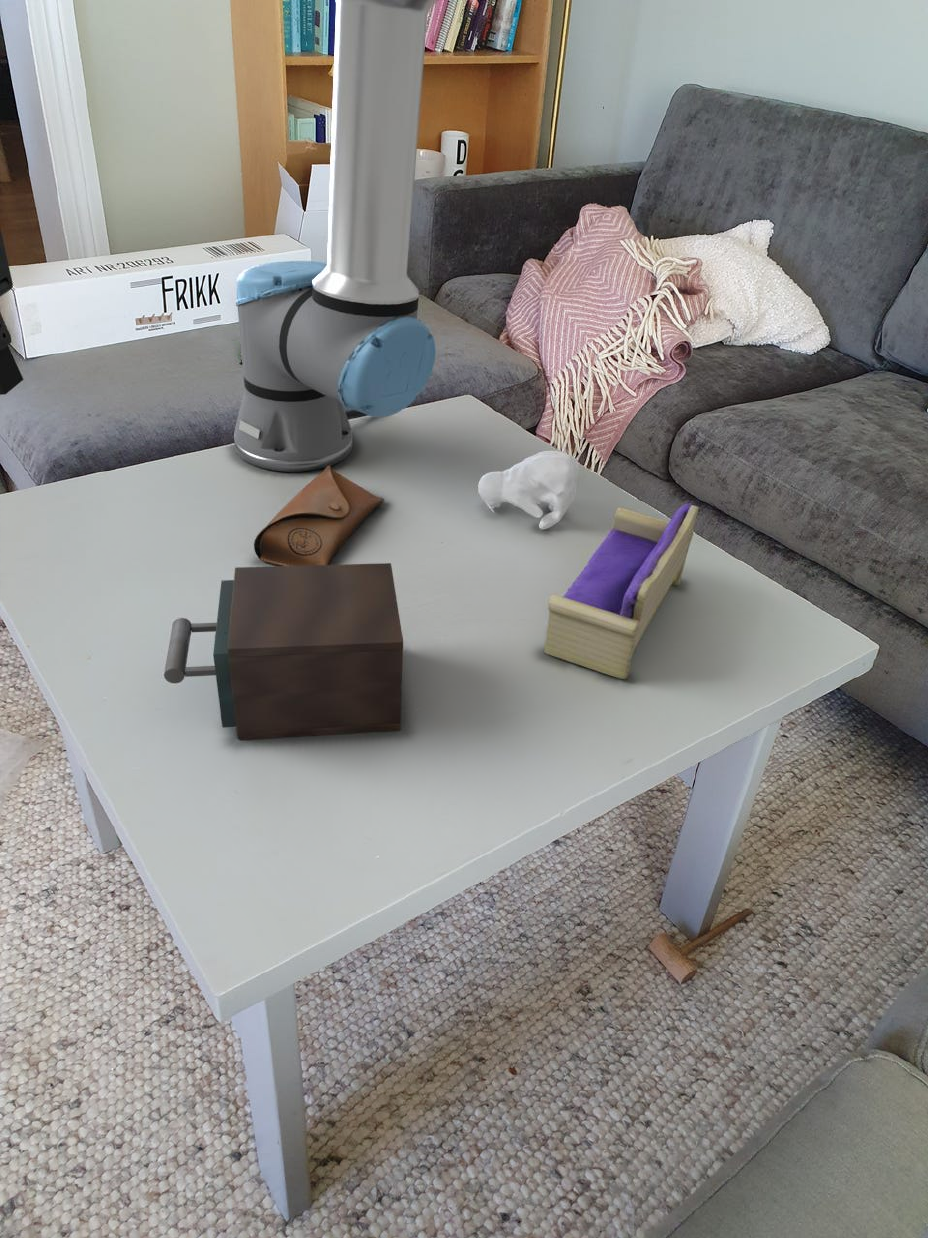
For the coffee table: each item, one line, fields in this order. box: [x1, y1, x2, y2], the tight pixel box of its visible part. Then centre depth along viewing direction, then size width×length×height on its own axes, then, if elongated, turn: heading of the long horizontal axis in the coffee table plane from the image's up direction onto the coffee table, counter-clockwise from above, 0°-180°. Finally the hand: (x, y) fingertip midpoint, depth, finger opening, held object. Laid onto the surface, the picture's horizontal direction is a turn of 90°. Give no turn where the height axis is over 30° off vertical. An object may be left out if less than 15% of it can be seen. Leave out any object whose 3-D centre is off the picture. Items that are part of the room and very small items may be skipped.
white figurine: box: [477, 450, 580, 531], centre depth 108 cm, size 6×8×12 cm
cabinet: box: [228, 562, 404, 740], centre depth 79 cm, size 14×12×10 cm
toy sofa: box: [544, 503, 699, 680], centre depth 91 cm, size 21×9×10 cm, turn 154°
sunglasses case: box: [253, 465, 385, 566], centre depth 103 cm, size 18×7×7 cm
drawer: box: [163, 579, 236, 729], centre depth 78 cm, size 17×10×8 cm, turn 99°
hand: (6, 386), depth 74 cm, fingers closed
